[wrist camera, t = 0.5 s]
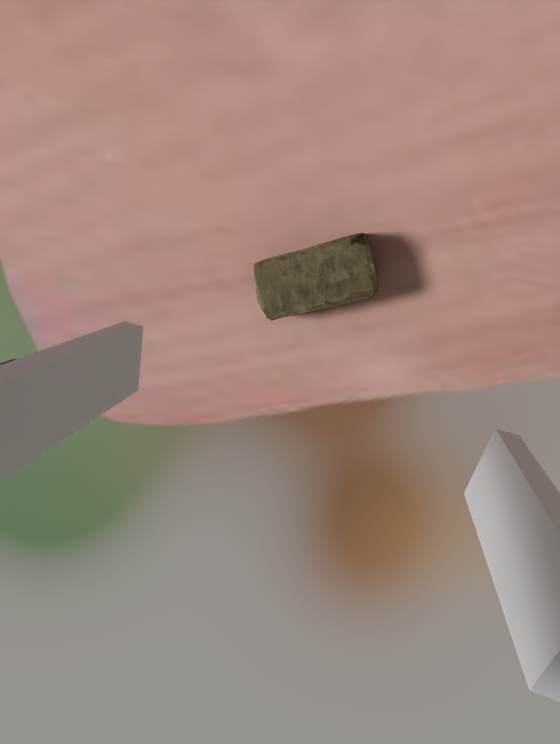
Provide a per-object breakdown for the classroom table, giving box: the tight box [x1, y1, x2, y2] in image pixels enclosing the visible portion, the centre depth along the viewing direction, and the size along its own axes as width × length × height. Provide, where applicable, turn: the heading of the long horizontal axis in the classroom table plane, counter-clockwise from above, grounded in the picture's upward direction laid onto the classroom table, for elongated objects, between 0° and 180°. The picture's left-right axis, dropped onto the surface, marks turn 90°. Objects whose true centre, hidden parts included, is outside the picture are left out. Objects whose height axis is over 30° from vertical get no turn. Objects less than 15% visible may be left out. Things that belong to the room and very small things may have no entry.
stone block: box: [254, 233, 378, 321], centre depth 37 cm, size 6×12×5 cm, turn 107°
